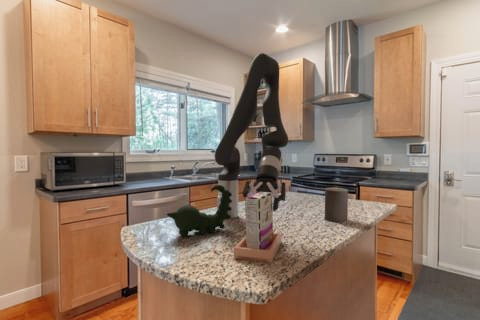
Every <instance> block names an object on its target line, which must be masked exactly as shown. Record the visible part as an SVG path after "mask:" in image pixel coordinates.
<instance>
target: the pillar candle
mask: <svg viewBox="0 0 480 320" xmlns="http://www.w3.org/2000/svg"><path fill="white" fill-rule="evenodd" d="M348 201H349V189H347V188H342V187H326V188H325V189H324V220H326V221H328V222H331V223H345V222H348V210H349V209H348V208H349V207H348V206H349V204H348V203H349V202H348Z"/></svg>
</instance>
